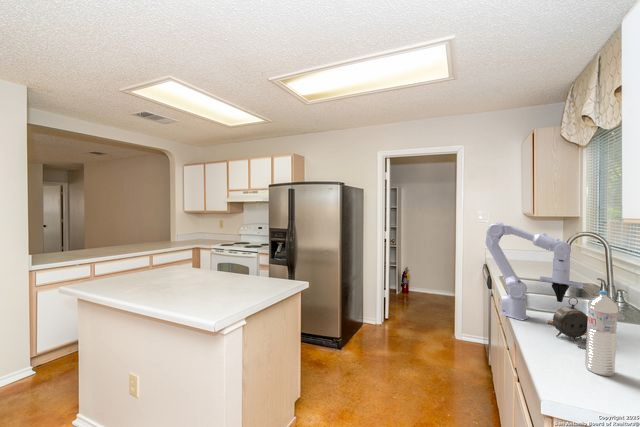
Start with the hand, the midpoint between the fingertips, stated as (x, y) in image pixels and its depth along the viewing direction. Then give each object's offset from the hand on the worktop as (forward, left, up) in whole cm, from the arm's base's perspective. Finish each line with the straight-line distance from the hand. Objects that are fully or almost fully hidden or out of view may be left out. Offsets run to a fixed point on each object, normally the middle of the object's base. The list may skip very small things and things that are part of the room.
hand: (559, 301), depth 131 cm
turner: (+4, 0, -10) cm, 11 cm away
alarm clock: (+7, -12, -11) cm, 18 cm away
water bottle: (+19, -34, -11) cm, 41 cm away
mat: (+14, -12, -10) cm, 22 cm away
